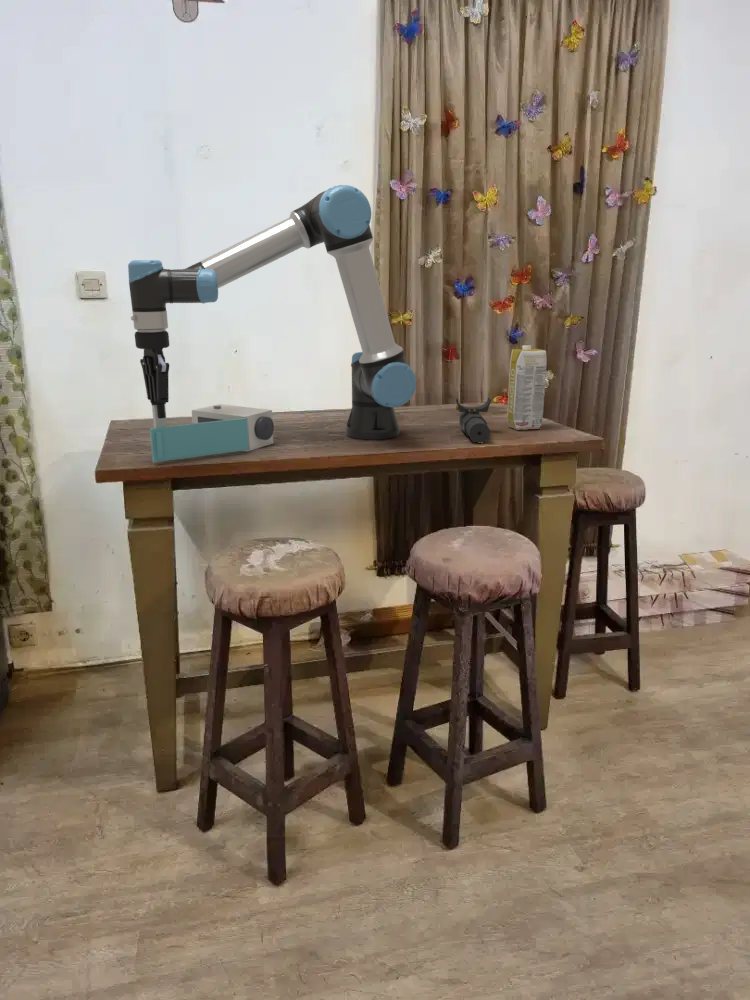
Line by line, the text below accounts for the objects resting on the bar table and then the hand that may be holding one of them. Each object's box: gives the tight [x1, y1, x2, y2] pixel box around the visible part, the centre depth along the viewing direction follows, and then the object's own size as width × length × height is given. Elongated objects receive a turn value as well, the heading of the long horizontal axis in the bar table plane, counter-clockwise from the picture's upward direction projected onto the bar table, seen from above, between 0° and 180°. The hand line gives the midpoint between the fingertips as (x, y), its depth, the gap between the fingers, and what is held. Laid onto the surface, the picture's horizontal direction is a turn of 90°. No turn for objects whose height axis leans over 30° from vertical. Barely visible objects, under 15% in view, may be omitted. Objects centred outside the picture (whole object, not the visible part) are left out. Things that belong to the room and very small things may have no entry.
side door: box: [149, 418, 250, 463], centre depth 177 cm, size 24×2×8 cm, turn 123°
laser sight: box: [454, 396, 492, 444], centre depth 203 cm, size 10×22×10 cm, turn 0°
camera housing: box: [191, 403, 275, 453], centre depth 192 cm, size 20×11×10 cm, turn 60°
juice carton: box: [506, 344, 548, 428], centre depth 210 cm, size 9×8×24 cm
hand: (161, 430), depth 175 cm, fingers closed
